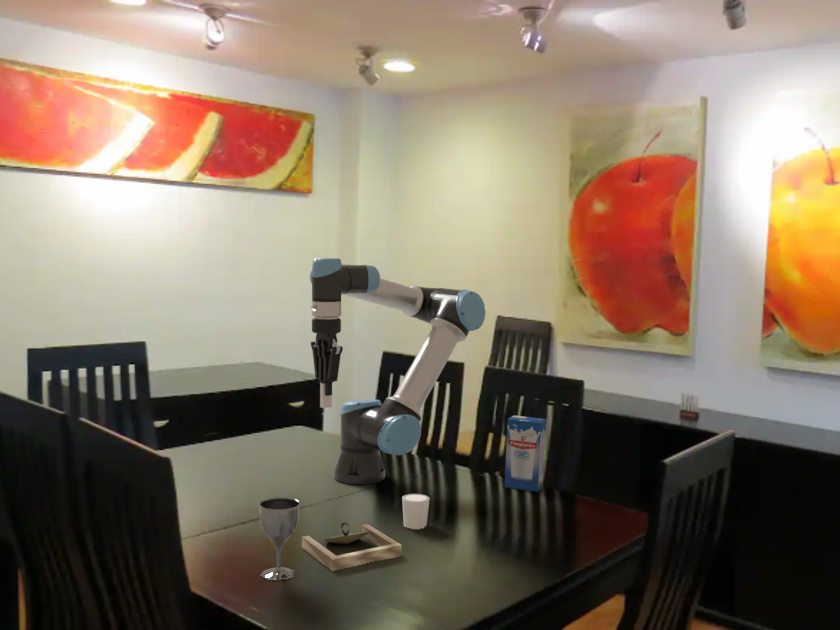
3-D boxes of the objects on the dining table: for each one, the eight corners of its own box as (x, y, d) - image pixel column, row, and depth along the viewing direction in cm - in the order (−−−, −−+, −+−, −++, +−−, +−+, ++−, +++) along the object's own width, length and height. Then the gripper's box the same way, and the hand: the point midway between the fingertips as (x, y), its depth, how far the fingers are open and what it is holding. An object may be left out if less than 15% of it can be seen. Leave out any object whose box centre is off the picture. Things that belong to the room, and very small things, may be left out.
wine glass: (260, 566, 165) (262, 497, 164) (299, 566, 166) (300, 497, 165) (256, 582, 157) (257, 509, 156) (296, 582, 158) (297, 509, 157)
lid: (335, 556, 172) (336, 534, 172) (315, 541, 180) (316, 520, 180) (377, 547, 178) (377, 526, 178) (355, 534, 186) (356, 513, 186)
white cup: (425, 531, 189) (426, 503, 189) (398, 528, 191) (399, 500, 190) (431, 522, 196) (432, 494, 196) (404, 519, 198) (405, 492, 197)
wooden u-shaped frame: (367, 534, 186) (367, 524, 186) (401, 556, 174) (401, 545, 173) (301, 547, 176) (302, 536, 176) (332, 571, 164) (333, 559, 164)
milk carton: (504, 486, 228) (507, 419, 226) (510, 481, 234) (513, 415, 232) (538, 491, 224) (541, 422, 223) (543, 486, 230) (546, 418, 228)
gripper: (301, 315, 207) (301, 404, 209) (326, 320, 196) (325, 413, 199) (326, 314, 211) (326, 401, 214) (351, 319, 201) (351, 409, 203)
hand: (326, 406), depth 206 cm, fingers closed
